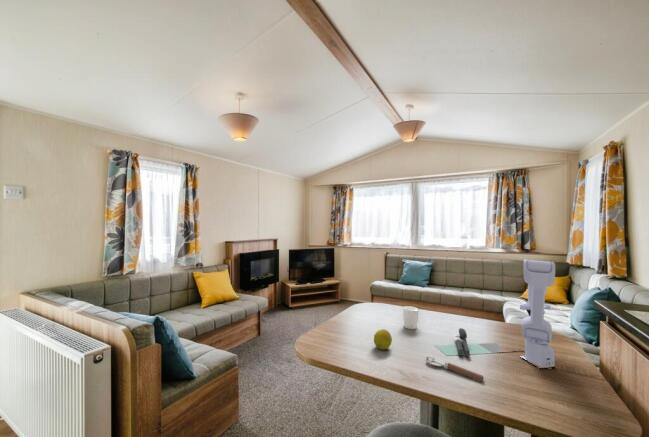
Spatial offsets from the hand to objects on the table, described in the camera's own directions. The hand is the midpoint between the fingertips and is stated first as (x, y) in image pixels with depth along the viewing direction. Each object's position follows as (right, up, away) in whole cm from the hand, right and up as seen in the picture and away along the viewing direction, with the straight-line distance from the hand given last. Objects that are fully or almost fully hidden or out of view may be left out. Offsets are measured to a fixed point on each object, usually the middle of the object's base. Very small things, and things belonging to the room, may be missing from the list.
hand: (534, 324), depth 127 cm
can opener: (-36, -10, -3) cm, 37 cm away
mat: (-28, -10, -3) cm, 29 cm away
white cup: (-52, -9, +20) cm, 57 cm away
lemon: (-72, -9, -5) cm, 73 cm away
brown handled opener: (-49, -10, -22) cm, 54 cm away
